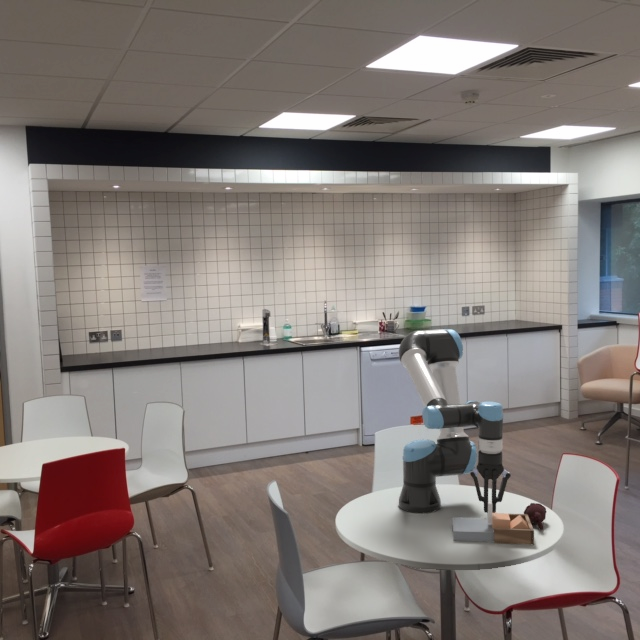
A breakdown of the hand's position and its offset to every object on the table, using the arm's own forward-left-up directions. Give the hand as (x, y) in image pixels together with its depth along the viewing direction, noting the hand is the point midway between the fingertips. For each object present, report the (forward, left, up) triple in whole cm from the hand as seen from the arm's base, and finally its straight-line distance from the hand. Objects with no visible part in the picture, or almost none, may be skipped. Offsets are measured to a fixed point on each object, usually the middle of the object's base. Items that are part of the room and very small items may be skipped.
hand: (489, 521), depth 227 cm
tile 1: (0, +3, -1) cm, 4 cm away
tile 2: (0, +8, 0) cm, 8 cm away
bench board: (0, -5, -4) cm, 7 cm away
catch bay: (0, +7, -4) cm, 8 cm away
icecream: (-12, +16, -4) cm, 20 cm away
